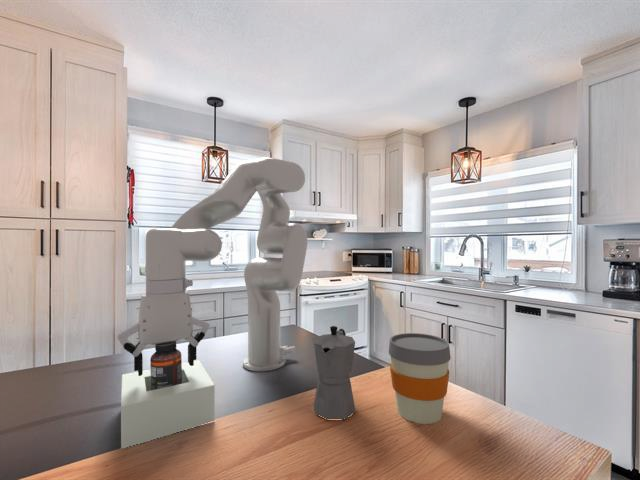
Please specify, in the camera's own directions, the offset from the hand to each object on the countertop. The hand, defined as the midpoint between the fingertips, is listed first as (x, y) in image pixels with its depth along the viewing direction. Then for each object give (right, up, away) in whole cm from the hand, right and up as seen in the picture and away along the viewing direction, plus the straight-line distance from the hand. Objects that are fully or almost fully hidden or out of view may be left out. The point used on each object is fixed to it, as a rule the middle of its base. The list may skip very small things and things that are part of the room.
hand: (166, 368), depth 67 cm
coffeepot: (+36, -10, +3) cm, 37 cm away
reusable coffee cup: (+53, -10, +1) cm, 54 cm away
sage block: (0, -10, 0) cm, 10 cm away
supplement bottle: (0, -6, 0) cm, 6 cm away
